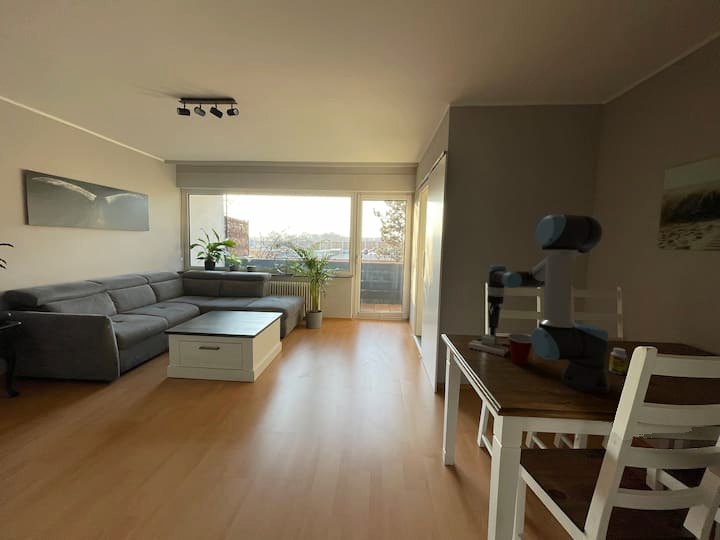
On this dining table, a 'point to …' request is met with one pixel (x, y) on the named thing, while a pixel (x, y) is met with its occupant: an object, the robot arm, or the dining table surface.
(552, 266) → the robot arm
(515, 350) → the plastic cup
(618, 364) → the supplement bottle
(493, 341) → the sage block
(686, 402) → the dining table surface
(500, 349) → the trap deck
